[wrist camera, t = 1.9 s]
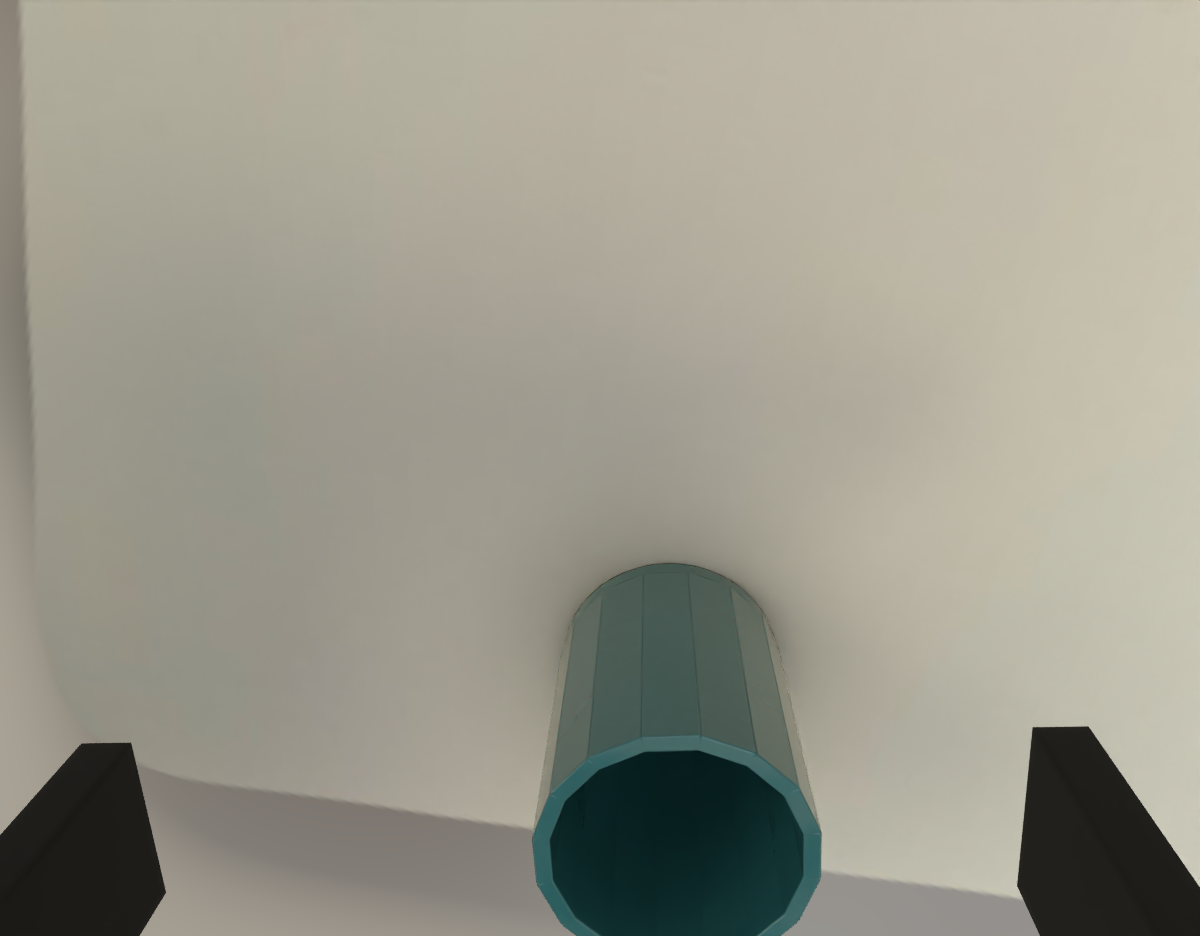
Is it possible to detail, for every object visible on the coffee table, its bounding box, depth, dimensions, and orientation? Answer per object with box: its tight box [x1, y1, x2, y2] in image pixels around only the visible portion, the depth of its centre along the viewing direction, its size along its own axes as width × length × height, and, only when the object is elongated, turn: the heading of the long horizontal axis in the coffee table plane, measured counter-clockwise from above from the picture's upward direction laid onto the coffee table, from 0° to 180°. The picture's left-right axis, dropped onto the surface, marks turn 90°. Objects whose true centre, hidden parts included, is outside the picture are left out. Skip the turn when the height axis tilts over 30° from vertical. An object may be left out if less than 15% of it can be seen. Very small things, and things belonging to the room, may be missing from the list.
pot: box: [532, 564, 822, 936], centre depth 34 cm, size 8×8×11 cm
